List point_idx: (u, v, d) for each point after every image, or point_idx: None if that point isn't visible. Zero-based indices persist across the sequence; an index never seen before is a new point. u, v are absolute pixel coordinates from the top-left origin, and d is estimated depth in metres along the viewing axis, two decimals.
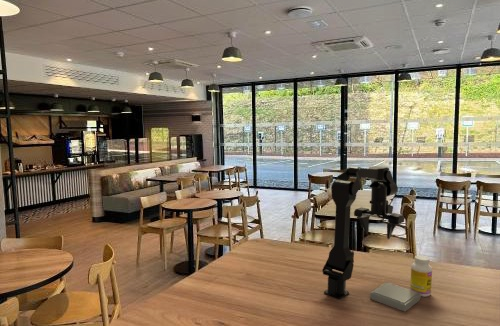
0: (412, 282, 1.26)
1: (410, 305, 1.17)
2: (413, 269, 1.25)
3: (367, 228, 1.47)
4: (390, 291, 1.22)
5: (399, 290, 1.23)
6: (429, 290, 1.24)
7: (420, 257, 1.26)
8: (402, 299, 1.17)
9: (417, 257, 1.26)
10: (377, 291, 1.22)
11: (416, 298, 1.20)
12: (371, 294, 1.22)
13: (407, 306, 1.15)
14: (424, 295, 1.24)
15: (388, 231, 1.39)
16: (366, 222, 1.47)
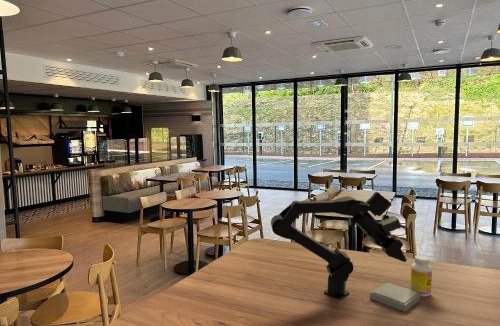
0: (412, 282, 1.26)
1: (410, 305, 1.17)
2: (413, 269, 1.25)
3: None
4: (390, 291, 1.22)
5: (399, 290, 1.23)
6: (429, 290, 1.24)
7: (420, 257, 1.26)
8: (402, 299, 1.17)
9: (417, 257, 1.26)
10: (377, 291, 1.22)
11: (416, 298, 1.20)
12: (371, 294, 1.22)
13: (407, 306, 1.15)
14: (424, 295, 1.24)
15: None
16: (384, 242, 1.30)
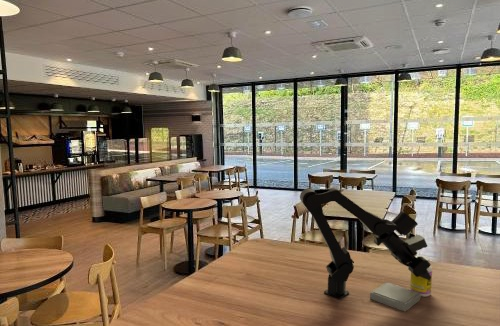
0: (412, 282, 1.26)
1: (410, 305, 1.17)
2: None
3: None
4: (390, 291, 1.22)
5: (399, 290, 1.23)
6: (429, 290, 1.24)
7: None
8: (402, 299, 1.17)
9: None
10: (377, 291, 1.22)
11: (416, 298, 1.20)
12: (371, 294, 1.22)
13: (407, 306, 1.15)
14: (424, 295, 1.24)
15: (420, 276, 1.22)
16: (410, 262, 1.30)
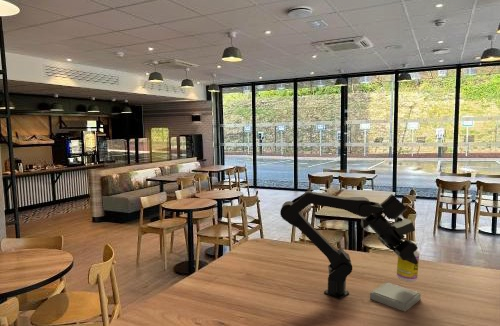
0: (399, 267, 1.23)
1: (410, 305, 1.17)
2: None
3: None
4: (390, 291, 1.22)
5: (399, 290, 1.23)
6: (415, 275, 1.21)
7: None
8: (402, 299, 1.17)
9: None
10: (377, 291, 1.22)
11: (416, 298, 1.20)
12: (371, 294, 1.22)
13: (407, 306, 1.15)
14: (410, 280, 1.21)
15: (407, 260, 1.19)
16: (397, 246, 1.27)
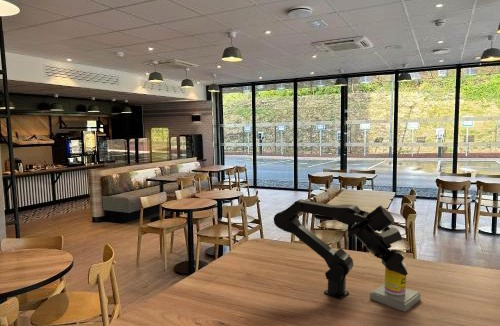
0: (386, 280, 1.21)
1: (410, 305, 1.17)
2: None
3: None
4: None
5: None
6: (403, 289, 1.19)
7: None
8: (402, 299, 1.17)
9: None
10: (377, 291, 1.22)
11: (416, 298, 1.20)
12: (371, 294, 1.22)
13: (407, 306, 1.15)
14: (398, 294, 1.19)
15: None
16: (384, 254, 1.26)
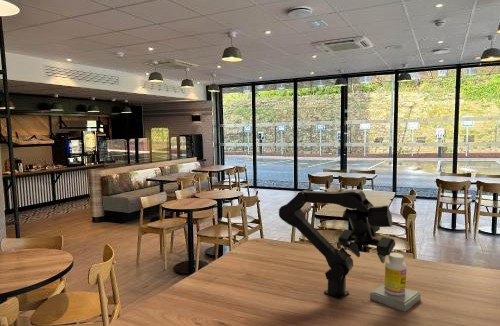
0: (386, 280, 1.21)
1: (410, 305, 1.17)
2: (387, 267, 1.21)
3: (357, 251, 1.30)
4: None
5: None
6: (403, 289, 1.19)
7: (394, 254, 1.21)
8: (402, 299, 1.17)
9: (391, 254, 1.21)
10: (377, 291, 1.22)
11: (416, 298, 1.20)
12: (371, 294, 1.22)
13: (407, 306, 1.15)
14: (398, 294, 1.19)
15: (381, 258, 1.21)
16: (354, 246, 1.29)
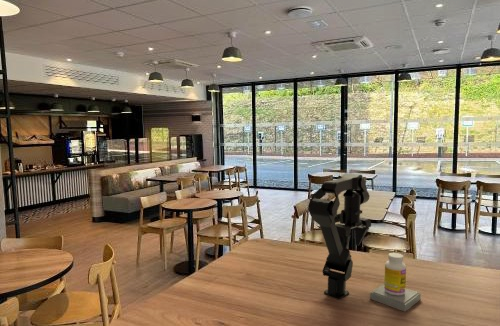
0: (386, 280, 1.21)
1: (410, 305, 1.17)
2: (386, 267, 1.21)
3: None
4: None
5: None
6: (403, 289, 1.19)
7: (394, 254, 1.21)
8: (402, 299, 1.17)
9: (391, 254, 1.21)
10: (377, 291, 1.22)
11: (416, 298, 1.20)
12: (371, 294, 1.22)
13: (407, 306, 1.15)
14: (398, 294, 1.19)
15: None
16: None
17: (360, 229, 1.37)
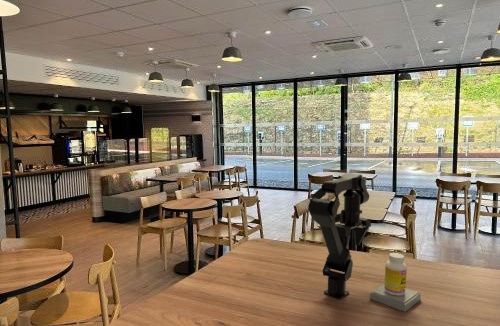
0: (386, 280, 1.21)
1: (410, 305, 1.17)
2: (387, 267, 1.20)
3: None
4: None
5: None
6: (403, 289, 1.19)
7: (394, 255, 1.21)
8: (402, 299, 1.17)
9: (391, 255, 1.21)
10: (377, 291, 1.22)
11: (416, 298, 1.20)
12: (371, 294, 1.22)
13: (407, 306, 1.15)
14: (398, 294, 1.19)
15: (362, 237, 1.37)
16: None
17: (360, 229, 1.37)
